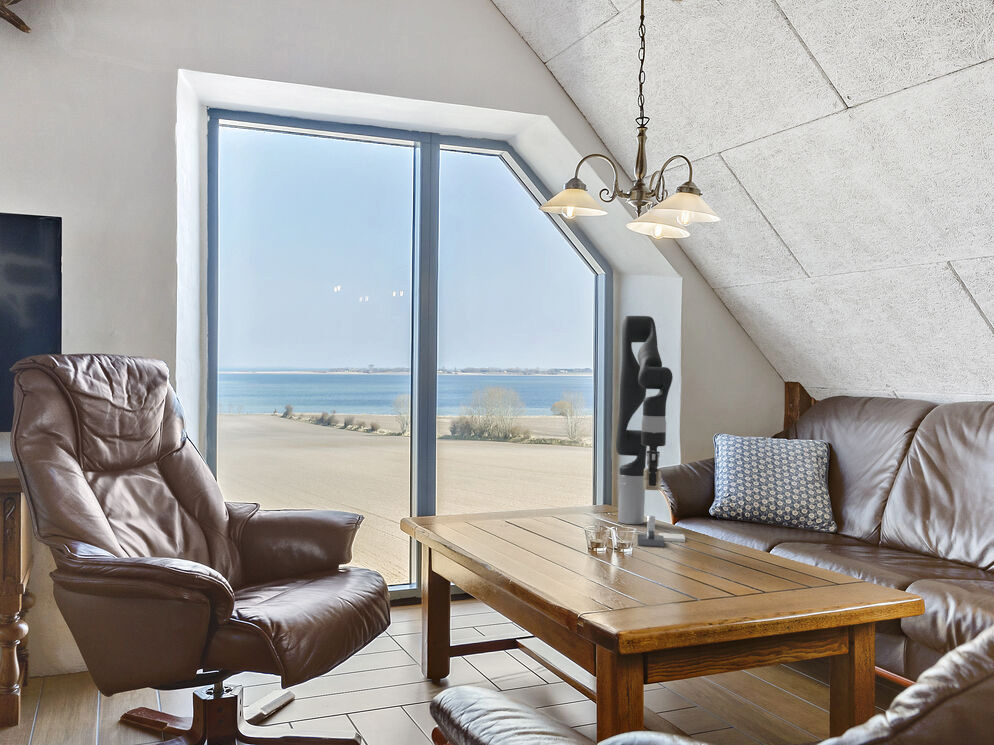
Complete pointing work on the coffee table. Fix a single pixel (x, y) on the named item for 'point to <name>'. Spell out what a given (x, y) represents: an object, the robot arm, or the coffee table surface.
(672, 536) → the tile
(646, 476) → the beige upright block
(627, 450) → the robot arm
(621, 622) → the coffee table surface
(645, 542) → the pin stand
